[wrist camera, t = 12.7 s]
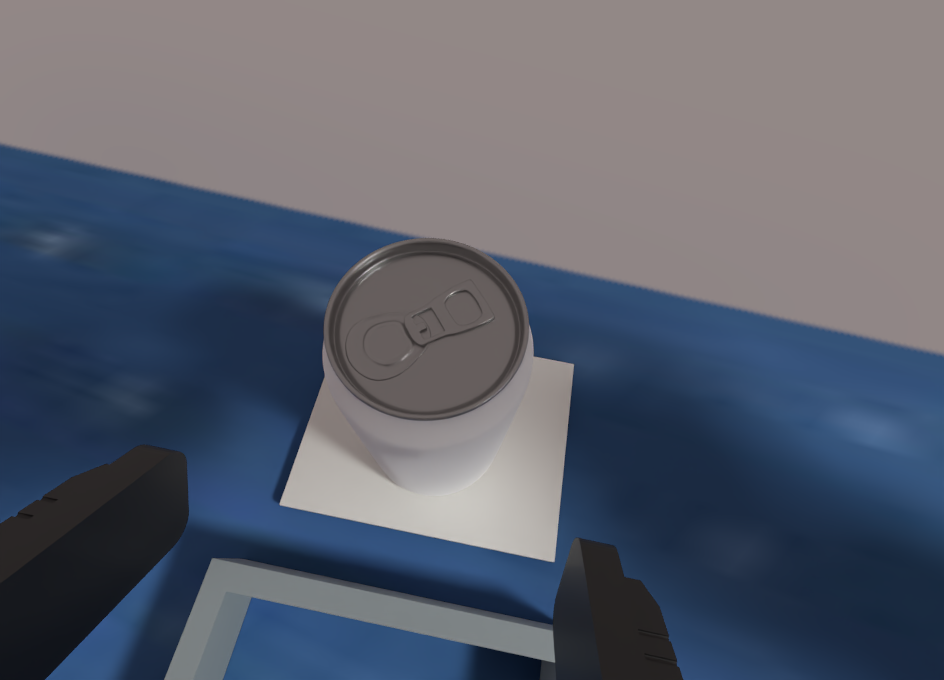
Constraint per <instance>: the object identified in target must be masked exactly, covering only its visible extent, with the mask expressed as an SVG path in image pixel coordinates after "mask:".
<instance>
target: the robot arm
mask: <svg viewBox="0 0 944 680" xmlns="http://www.w3.org/2000/svg"><path fill="white" fill-rule="evenodd" d="M188 516H189V505H188V481H187V461H186V457H185V455H184V454H183V453H181V452H178V451H174V450H169V449H164V448H160V447H155V446H150V445H139V446H137V447H135V448H133V449H132V450H130V451H129V452H128V453H126V454H125V455H123V456H122V457H120V458H119V459H117V460H116V461H114V462H113V463H111V464H110V465H108V464H104V465H102V466H99V467H97V468H94V469H92V470H89V471H87V472H84V473H82V474H79V475H77V476H74V477H72V478H70V479H69V480H67V481H65V482H64V483H62V484H61V485H59V486H58V487H56V488H55V489H53V490H52V491H50V492H48V493H47V494H45V495H44V496H43V498H42V499H41V500H40V501H39V500H36V501H35V502H33V503H32V504H30V505H28V506H27V507H25V508H24V509H22V510H21V511H19V512H18V515H17V516H16V517H12V516H11V517H10V518H8V519H7V520H5V521H4V522H2V523H1V524H0V680H45V679H46V678H47V677H48V676H49V675H50V674H51V673H52V672H53V671H54V670H55V669H56V668H57V667H58V666H59V665H60V663H61V662H62V661H63V660H64V659H65V658H66V657H67V656H68V655H69V654H70V653H71V652H72V651H73V650H74V649H75V648H76V647H77V646H78V645H79V644H80V643H81V642H82V641H83V640H84V639H85V638H86V637H87V636H88V634H89V633H90V632H91V631H92V630H93V629H94V628H95V627H96V626H97V625H98V624H99V623H100V622H101V621H102V620H103V619H104V618H105V617H106V616H107V615H108V614H109V613H110V612H111V611H112V610H113V609H114V608H115V607H116V606H117V604H118V603H119V602H120V601H121V600H122V599H123V598H124V597H125V596H126V595H127V594H128V593H129V592H130V591H131V590H132V589H133V588H134V587H135V586H136V585H137V584H138V583H139V582H140V581H141V580H142V579H143V578H144V577H145V575H146V574H147V573H148V572H149V571H150V570H151V569H152V568H153V567H154V566H155V565H156V564H157V563H158V562H159V561H160V560H161V559H162V558H163V557H164V556H165V555H166V554H167V553H168V552H169V551H170V550H171V549H172V548H173V546H174V545H175V544H176V543H177V542H178V540H179V539H180V537H181V535H182V533H183V532H184V529H185V527H186V524H187V521H188ZM668 638H669V635H668V632H667V628H666V625H665V622H664V619H663V616H662V613H661V610H660V607H659V606H658V604H657V603H656V601H655V600H654V599H653V597H652V596H651V594H650V593H649V592H648V590H647V589H646V587H645V586H644V585H643V583H642V582H641V581H640V580H635V579H631V578H626V577H624V574H623V570H622V567H621V563H620V559H619V555H618V552H617V549H616V547H615V546H613V545H609V544H604V543H600V542H595V541H590V540H586V539H581V538H575V539H574V541H573V543H572V546H571V549H570V552H569V556H568V559H567V562H566V565H565V569H564V572H563V575H562V578H561V582H560V585H559V588H558V592H557V595H556V599H555V605H554V613H553V640H554V655H555V669H556V680H683V678H682V675H681V672H680V668H679V667H677V659H676V656H675V653H674V650H673V647H672V644H671V642H670V641H669V639H668Z"/></svg>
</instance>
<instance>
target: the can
mask: <svg viewBox="0 0 944 680" xmlns="http://www.w3.org/2000/svg"><path fill="white" fill-rule="evenodd" d="M323 334H324V342H323V352H322V357H323V368H324V373H325V378H326V381H327V384H328V387H329V390H330V392H331V394H332V397H333V399H334V400H335V402H336V404H337V406H338V407H339V409H340V411H341V412H342V414H343V415H344V417H345V418H346V420H347V421H348V423H349V424H350V425H351V427H352V428H353V430H354V431H355V433H356V434H357V435H358V437H359V438H360V440H361V441H362V442H363V444H364V445H365V447H366V448H367V449H368V451H369V452H370V454H371V455H372V456H373V458H374V459H375V460H376V462H377V463H378V464H379V466H380V467H381V468H382V470H383V471H384V472H385V473H386V474H387V475H388V477H389V478H390V479H391V480H392V481H394V482H395V483H396V484H397V485H399V486H401V487H402V488H404V489H406V490H408V491H411V492H413V493H416V494H420V495H426V496H443V495H448V494H452V493H456V492H458V491H461V490H463V489H465V488H467V487H468V486H470V485H472V484H473V483H474V482H476V481H477V480H478V479H479V478H480V477H481V476H482V475H483V474H484V473H485V472H486V471H487V469H488V468H489V467H490V465H491V463H492V462H493V460H494V458H495V456H496V454H497V452H498V450H499V448H500V446H501V444H502V442H503V440H504V438H505V436H506V434H507V431H508V429H509V427H510V425H511V423H512V421H513V418H514V416H515V414H516V412H517V410H518V407H519V405H520V403H521V401H522V398H523V396H524V394H525V391H526V388H527V386H528V383H529V379H530V376H531V371H532V365H533V354H534V348H533V338H532V333H531V329H530V325H529V318H528V312H527V308H526V304H525V301H524V298H523V296H522V294H521V292H520V290H519V288H518V286H517V284H516V283H515V281H514V280H513V279H512V277H511V276H510V275H509V274H508V272H507V271H506V270H505V269H504V268H503V267H502V266H501V265H500V264H498V263H497V262H496V261H495V260H494V259H492V258H491V257H489V256H488V255H486V254H485V253H483V252H481V251H479V250H477V249H475V248H473V247H470V246H468V245H465V244H462V243H459V242H455V241H451V240H445V239H436V238H420V239H411V240H405V241H401V242H397V243H393V244H390V245H388V246H385V247H383V248H380V249H378V250H376V251H374V252H372V253H371V254H369V255H367V256H366V257H364V258H363V259H361V260H360V261H359V262H358V263H356V264H355V265H354V266H353V267H352V268H351V269H350V270H349V271H348V272H347V273H346V274H345V275H344V276H343V278H342V279H341V280H340V282H339V283H338V285H337V286H336V288H335V290H334V291H333V293H332V295H331V298H330V300H329V303H328V305H327V309H326V313H325V318H324V328H323Z"/></svg>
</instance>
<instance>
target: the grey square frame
mask: <svg viewBox="0 0 944 680" xmlns="http://www.w3.org/2000/svg"><path fill="white" fill-rule="evenodd" d="M251 597H254V598H259V599H263V600H268V601H273V602H277V603H282V604H286V605H291V606H296V607H300V608H305V609H309V610H314V611H319V612H323V613H328V614H333V615H337V616H342V617H346V618H351V619H356V620H360V621H365V622H369V623H374V624H379V625H383V626H388V627H393V628H397V629H402V630H406V631H411V632H416V633H420V634H425V635H429V636H434V637H439V638H443V639H448V640H453V641H457V642H462V643H466V644H471V645H476V646H480V647H485V648H489V649H494V650H499V651H503V652H508V653H513V654H517V655H522V656H526V657H531V658H536V659H540V660H542V663H541V673H540V680H556V669H555V655H554V640H553V625H550V624H546V623H541V622H536V621H532V620H527V619H522V618H517V617H513V616H508V615H503V614H499V613H494V612H489V611H485V610H480V609H475V608H471V607H466V606H461V605H457V604H452V603H447V602H443V601H438V600H433V599H429V598H424V597H419V596H415V595H410V594H405V593H401V592H396V591H391V590H386V589H382V588H377V587H372V586H368V585H363V584H358V583H354V582H349V581H344V580H340V579H335V578H330V577H326V576H321V575H316V574H312V573H307V572H302V571H298V570H293V569H288V568H284V567H279V566H274V565H269V564H265V563H260V562H255V561H251V560H246V559H233V558H212V560H211V563H210V565H209V568H208V570H207V573H206V575H205V578H204V580H203V583H202V585H201V588H200V591H199V593H198V596H197V598H196V601H195V603H194V606H193V608H192V611H191V613H190V616H189V618H188V621H187V623H186V626H185V628H184V631H183V633H182V636H181V639H180V641H179V644H178V646H177V649H176V651H175V654H174V656H173V659H172V661H171V664H170V666H169V669H168V671H167V674H166V676H165V679H164V680H223V677H224V675H225V672H226V669H227V666H228V663H229V660H230V657H231V655H232V652H233V649H234V646H235V643H236V640H237V637H238V635H239V632H240V629H241V626H242V623H243V620H244V617H245V615H246V612H247V609H248V606H249V603H250V600H251Z"/></svg>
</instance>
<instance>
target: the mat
mask: <svg viewBox="0 0 944 680" xmlns="http://www.w3.org/2000/svg"><path fill="white" fill-rule="evenodd" d="M573 369H574V364H570V363H565V362H560V361H555V360H549V359H544V358H539V357H534V356H533V365H532V371H531V376H530V379H529V383H528V386H527V388H526V391H525V394H524V396H523V398H522V401H521V403H520V405H519V407H518V410H517V412H516V414H515V416H514V418H513V421H512V423H511V425H510V427H509V429H508V431H507V434H506V436H505V438H504V440H503V442H502V444H501V446H500V448H499V450H498V452H497V454H496V456H495V458H494V460H493V462H492V463H491V465H490V467H489V468H488V469H487V471H486V472H485V473H484V474H483V475H482V476H481V477H480V478H479V479H478V480H477V481H476V482H474V483H473V484H472V485H470V486H468V487H467V488H465V489H463V490H461V491H458V492H456V493H452V494H448V495H443V496H426V495H420V494H416V493H413V492H411V491H408V490H406V489H404V488H402V487H401V486H399V485H397V484H396V483H395V482H394V481H392V480H391V479H390V478H389V477H388V475H387V474H386V473H385V472H384V471H383V470H382V468H381V467H380V466H379V464H378V463H377V462H376V460H375V459H374V458H373V456H372V455H371V454H370V452H369V451H368V449H367V448H366V447H365V445H364V444H363V442H362V441H361V440H360V438H359V437H358V435H357V434H356V433H355V431H354V430H353V428H352V427H351V425H350V424H349V423H348V421H347V420H346V418H345V417H344V415H343V414H342V412H341V411H340V409H339V407H338V406H337V404H336V402H335V400H334V399H333V397H332V394H331V392H330V390H329V387H328V384H327V381H326V378H325V377H324V380H323V383H322V386H321V388H320V391H319V394H318V397H317V400H316V403H315V405H314V408H313V411H312V414H311V417H310V420H309V422H308V425H307V428H306V431H305V434H304V437H303V439H302V442H301V445H300V448H299V451H298V453H297V456H296V459H295V462H294V465H293V468H292V470H291V473H290V476H289V479H288V482H287V485H286V487H285V490H284V493H283V496H282V499H281V501H280V504H279V505H281V506H285V507H290V508H294V509H299V510H304V511H309V512H313V513H318V514H323V515H328V516H333V517H337V518H342V519H347V520H352V521H357V522H361V523H366V524H371V525H376V526H381V527H385V528H390V529H395V530H400V531H405V532H409V533H414V534H419V535H424V536H428V537H433V538H438V539H443V540H448V541H452V542H457V543H462V544H467V545H472V546H476V547H481V548H486V549H491V550H496V551H500V552H505V553H510V554H515V555H520V556H524V557H529V558H534V559H539V560H544V561H548V562H554V561H555V551H556V541H557V531H558V521H559V510H560V500H561V490H562V480H563V470H564V460H565V450H566V440H567V430H568V420H569V410H570V399H571V389H572V379H573Z"/></svg>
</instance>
